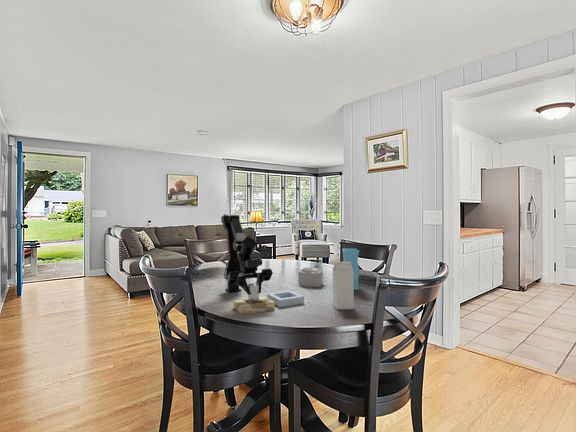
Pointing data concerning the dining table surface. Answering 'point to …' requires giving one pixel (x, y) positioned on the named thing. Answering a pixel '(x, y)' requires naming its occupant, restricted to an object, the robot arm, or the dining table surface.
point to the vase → (352, 263)
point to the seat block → (286, 298)
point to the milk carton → (343, 285)
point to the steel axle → (253, 293)
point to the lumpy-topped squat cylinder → (310, 277)
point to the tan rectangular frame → (253, 305)
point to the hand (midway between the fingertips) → (254, 293)
